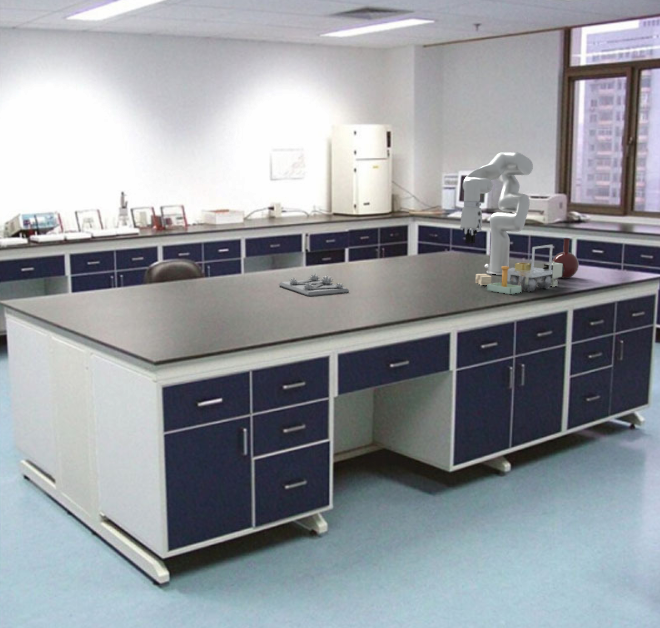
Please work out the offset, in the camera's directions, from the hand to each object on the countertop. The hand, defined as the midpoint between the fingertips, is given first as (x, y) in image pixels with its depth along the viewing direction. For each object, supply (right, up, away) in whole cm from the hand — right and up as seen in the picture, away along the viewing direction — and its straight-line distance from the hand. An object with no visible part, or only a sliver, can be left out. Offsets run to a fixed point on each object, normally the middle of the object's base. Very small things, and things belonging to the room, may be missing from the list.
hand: (470, 242), depth 426 cm
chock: (+6, -20, -3) cm, 21 cm away
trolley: (+24, -23, -14) cm, 36 cm away
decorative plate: (-75, -24, -20) cm, 82 cm away
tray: (+12, -24, -22) cm, 35 cm away
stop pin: (+12, -24, -22) cm, 35 cm away
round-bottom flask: (+50, -17, +17) cm, 55 cm away
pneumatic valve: (+38, -22, -7) cm, 44 cm away
